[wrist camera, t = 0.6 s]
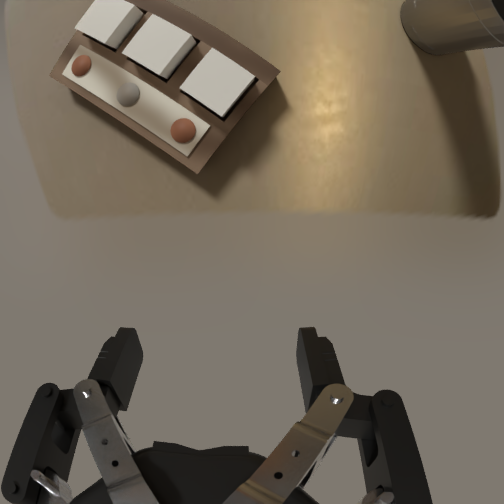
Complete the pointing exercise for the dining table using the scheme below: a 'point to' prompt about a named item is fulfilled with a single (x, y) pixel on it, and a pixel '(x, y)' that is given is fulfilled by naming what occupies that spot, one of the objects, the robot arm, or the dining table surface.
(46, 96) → the dining table surface
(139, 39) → the button
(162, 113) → the button panel
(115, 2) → the button
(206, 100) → the button
